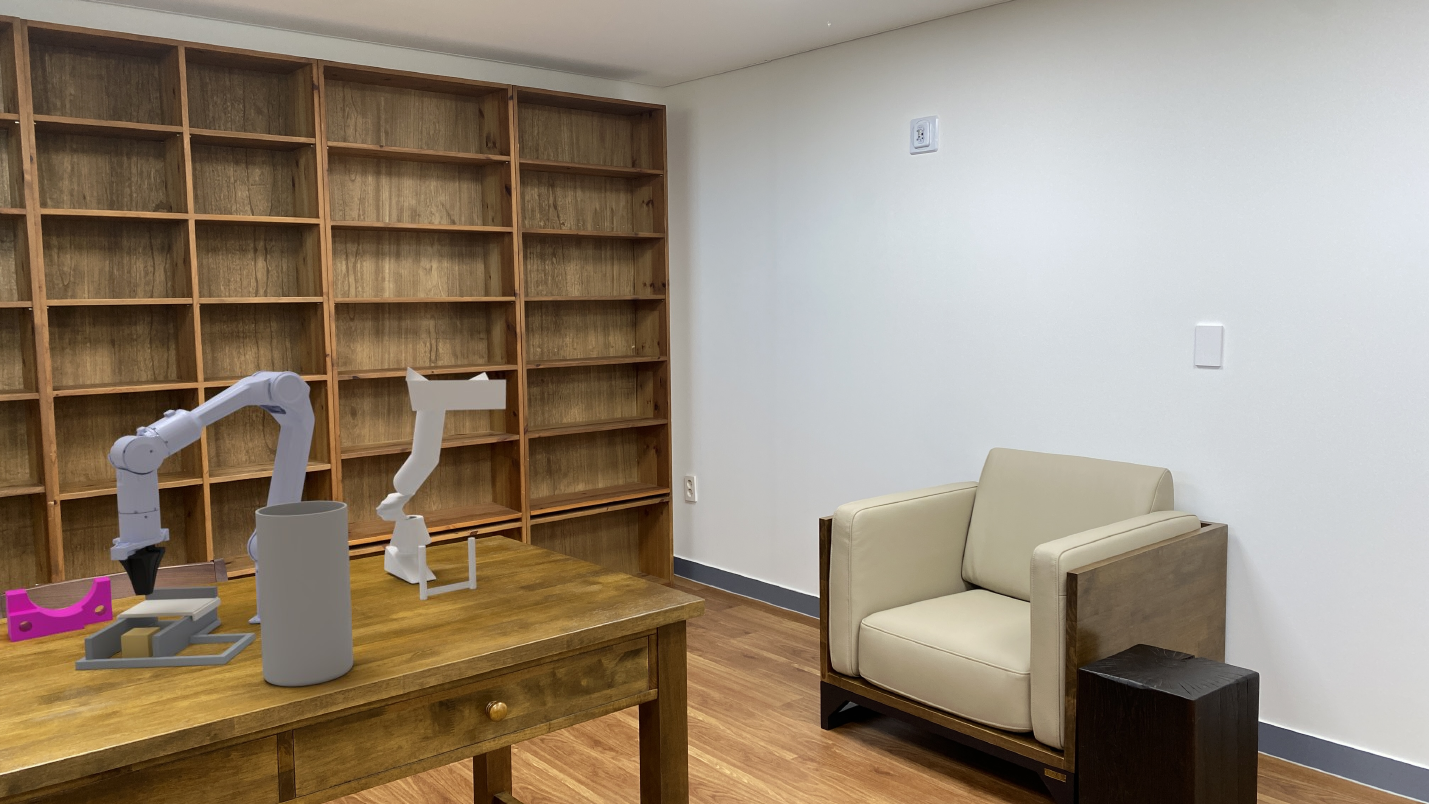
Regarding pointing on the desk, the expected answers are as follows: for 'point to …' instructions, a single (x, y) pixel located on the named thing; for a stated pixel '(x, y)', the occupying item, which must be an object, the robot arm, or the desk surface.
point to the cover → (176, 603)
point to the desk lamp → (411, 529)
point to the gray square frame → (161, 643)
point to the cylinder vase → (304, 592)
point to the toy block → (56, 613)
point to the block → (138, 642)
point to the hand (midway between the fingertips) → (144, 594)
